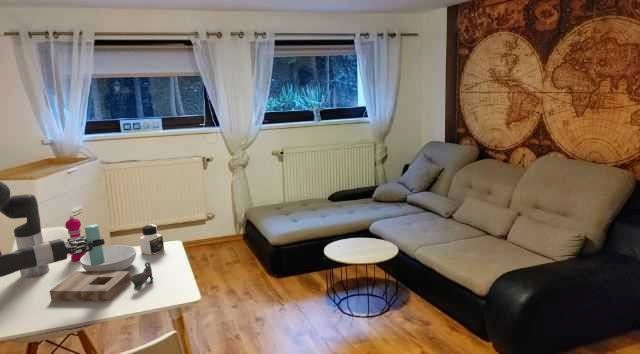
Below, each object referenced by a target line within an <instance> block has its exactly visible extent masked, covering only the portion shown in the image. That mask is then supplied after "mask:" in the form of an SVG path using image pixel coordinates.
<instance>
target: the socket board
mask: <svg viewBox="0 0 640 354" xmlns="http://www.w3.org/2000/svg"><path fill="white" fill-rule="evenodd" d="M130 276H132V274H131V271H127V270H125V271H124V270H122V271H86V270H84V271H80V270H79V271H75V272H73V273H72V274H71V275H69V276H68V277H66V279H64V280H62V281H61V282H60V283H58V284H57V285H55V286H54V287H52V289H50V290H49V295H50V300H51V302H101V303H102V302H111V300H112V299H114V297H116V296H117V295H118V294H119V293H120V292H121V291H122V290H124V289H125V287H127V286H128V285H129V284H130V283H132V282H131V280H130Z"/></svg>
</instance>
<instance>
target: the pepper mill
mask: <svg viewBox="0 0 640 354" xmlns="http://www.w3.org/2000/svg"><path fill="white" fill-rule="evenodd" d="M81 225H82V221H80V219H78V218H77V217H74V215H73V214H71V215H69V219H67V221H66V222H65V225H64V226H65V227H64V228H66V230H67V234H68V235H69V238H75V237H81V236H82V235H81V232H82V231H81ZM87 253H88V252H85V253H83V254H80V255H76V253H70V254H69V255H71V256H70V260H71V261H72V262H76V263H77V262H80V259H81V257H82V256H84V255H85V254H87Z"/></svg>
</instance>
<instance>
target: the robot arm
mask: <svg viewBox="0 0 640 354" xmlns="http://www.w3.org/2000/svg"><path fill="white" fill-rule="evenodd" d="M39 211H40V210H39V204H38V201H37V198H36V196H35V195H34V194H31V193H29V194H25V193H24V194H17V195H15V194H14V195H11V190H10V188H9V186H8V185H7V184H5V182H3V181H1V180H0V213H1V214H2V215H4V216H5V217H7V218H8V219H13V220H15V219H25V218H26V222H25V223H23V224H20V225H18V226H17V227H15V228H14V229H13V234H14V239H15V244H16V248H17V249H16V250H14V251H12V252H8V253H5V254H2V252H1V250H0V278H3V277H5V276H7V275H11V274H14V273H16V272H19V273H20V276H21V277H22V276H23V277H25V278H35V277H39V276H42V275H44V274H47V273H48V272H49V271H50V267H49V264H53V263H57V262H62V261H65V260H68V255H71V254H70V253H76V255H80V254H83V253H89V251H91V250H93V248H94V247H96V246H100V245H102V246H104V245H105V244H106V242H105V239H104V238H101V239H98V240H94V241H88V242H87V239H86V235H80V236H81V237H75V238H70V237H69V238H67V239H66V240H67V241H66V242H65V241H64V239H63V238H57V239H53V240H49V241H44V237H43V233H42V229H41V228H42V227H41V220H40V219H41V218H40V213H39ZM88 246H89V247H88Z"/></svg>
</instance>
